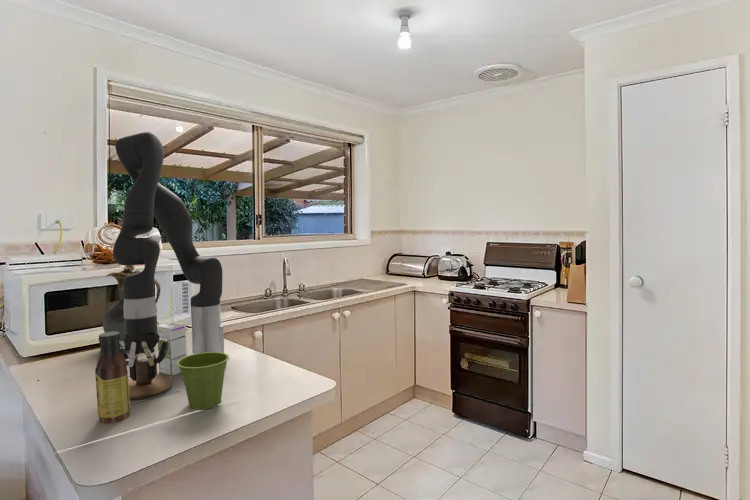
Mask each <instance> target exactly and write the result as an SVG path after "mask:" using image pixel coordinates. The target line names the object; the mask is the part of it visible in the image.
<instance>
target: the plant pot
mask: <svg viewBox="0 0 750 500" xmlns="http://www.w3.org/2000/svg"><path fill="white" fill-rule="evenodd" d="M229 359H230V355H229V354H227V353H225V352H224V353H221V352H204V353H197V354H193V353H192V354H189V355H187V356H186V357H183V358H181V359H180V360H178V361H177V366H178V367H180V371H181V372H180V374H181V376H182V379H183V384H184V388H185V392H186V393H185V394H186V396H187V397H186V398H187V401H188V406H189V407H190V408H192V409H196V410H198V411H201V410H208V409H211V408H213V407H215V406H218V405H219V404H220V403H221V402H222V395H223V389H224V388H223V387H224V379H225V371H226V367H227V363H228V361H229Z"/></svg>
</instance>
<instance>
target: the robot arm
mask: <svg viewBox="0 0 750 500" xmlns="http://www.w3.org/2000/svg"><path fill="white" fill-rule="evenodd" d="M114 148H115V152H116V155H117V157H118V159H119V161H120V163H121V164H122V166H123V167H124V169H125V171H126V172H127V174H128V175H129V177H130V178H131V179H132V181H133V182H134V183H133V185H132V186H131V188H130V190H129V192H128V193H127V196H126V198H125V201H124V204H123V205H124V209H123V219H122V225H121V228H120V230H119V234H118V235H117V237H116V240H115V242H114V244H113V248H112V257H113V260H114V261H115V262H116V263H117V264H118V265H119V266H125V265H126V266H127V265H134V266H142V265H144V268H143V270H141V271H140V273H136V274H132V275H128V276H126V277H125V278H124V280H123V290H124V307H123V309H124V327H125V338H124V340H123V341H121V342H120V341H119V344H120V353H121V354H122V355H123V356H124V358H125V359H126V362H127V367H128V368H129V379H132V381H136V370H135V361H137V360H139V355H140V354H144V355H145V359H148V362H149V365H150V366H149V380H153V379H154V378H155V376H156V375H157V374H158V364H159V363H161V361H163V360H164V358H165V355H166V353H167V350H168V347H169V344H170V340H169V339H167V340H165V339H161V338H160V337H159V335H158V332H157V326H158V324H157V321H158V315H157V314H158V308H157V303H156V301H155V300H156V296H155V294H156V293H155V284H154V279H155V275H156V269H157V264H158V261H159V256H160V253H161V247H160V243H159V242H158V241H157V240H156V238H154V237H148V236H147V237H137V236H140V235H144V234H147V233H150V232H151V231H152V230H153V228H154V218H155V220H156V222H157V223H158V225H159V228H160V229H161V230H162V232H163V234H164V235H165V237H166V239H167V241H168V243H169V245H170V246H171V248H172V250H173V252H174V255H175V256H176V259H177V261H178V264H179V266H180V269H181V270H182V271H181V272H182V273H183V275H184V277H185V279H186V280H187V281H188V282H189V283H191V284H194V285H199V292H198V293H197V294H195V295H192V296H191V297H190V318H191V319H190V321H191V346H192V347H191V348H192V351H191V352H192V355H193V354H197V353H204V352H221V353H225V338H224V337H225V336H224V325H222V321H221V320H222V319H221V318H222V317H221V315H222V314H221V298H222V294H223V266H222V263H221V261H220V260H219V259H218V258H217V257H214V256H201V255H200V254H199V252H198V251H197V249H196V247H195V245H194V243H193V239H192V238H193V236H192V235H193V221H192V217H191V215H190V212H189V211H188V209H187V207H186V204H185V202H184V201H183V200H182V199H181V198H180V197H179V196H178V195H177V194H175V193H174V192H172V191H171V190H170V189H168V188H167V187H165V186H163V185H162V183H160V181H159V180H160V178H161V177H160V176H161V172H162V168H163V164H164V163H163V162H164V158H165V151H164V150H165V149H164V144H163V142H162V140H161V139H160V138H159V136H158V135H157V134H156V133H154V132H152V131H151V132H150V131H144V132H139V133H136V134H135V133H134V134H132V135H127V136H123V137H121V138H118V139H117V140H116V142H115V147H114ZM158 343H159V347H160V348H161V349H160V352H159V354H158V355H157V351H156V348H155V347H156V345H158ZM125 345H126V346H127V347H128V348H129V350H130V351H129V355H128V353H127V350H125Z"/></svg>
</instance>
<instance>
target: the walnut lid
mask: <svg viewBox="0 0 750 500" xmlns="http://www.w3.org/2000/svg"><path fill="white" fill-rule="evenodd" d="M149 366H150V365H149V362H148V358H142V359H138V360H137V361H135V370H136V381H132V379H131V378H128V382H129V397H130V398H140V397H146V396H150V395H154V394H157V393H160V392H163V391H165V390H167V389H168V388H170V387H171V386H172V385H173V383H174V381H173V377H172V375H168V374H162V373H160V374H159V373H157V375H156V376H155V378H154V379H153V380H149Z"/></svg>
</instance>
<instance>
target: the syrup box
mask: <svg viewBox="0 0 750 500" xmlns="http://www.w3.org/2000/svg"><path fill="white" fill-rule="evenodd" d="M157 332H158V335H159V337H160V338H161V339H165V340H167V339H169V340H170V344H169V347H168V350H167V353H166V355H165V358H164V360H163V361H161V363H158V369H159V370H158V371H159V373H160V374H163V375H168V376H174V375H177V374H181V371H180V367H178V366H177V361H178V360H180V359H181V358H183V357H186V356H188V353H187V351H188V350H187V333H186V324H185V323H178V322H167V323H163V324H159V325H157ZM160 349H161V348H160V347H159V343H157V351H158V354H159V352H160ZM159 373H158V374H159Z"/></svg>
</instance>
